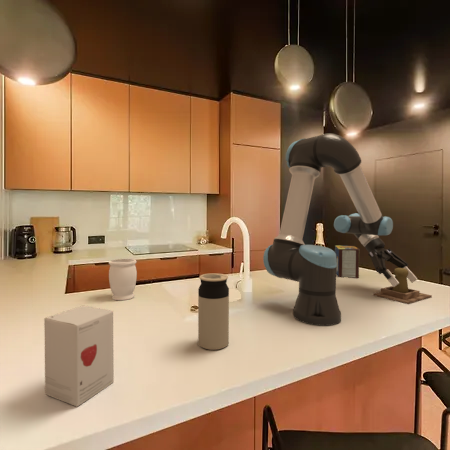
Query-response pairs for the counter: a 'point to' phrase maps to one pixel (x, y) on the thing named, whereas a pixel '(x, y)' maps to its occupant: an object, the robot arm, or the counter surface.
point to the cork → (401, 280)
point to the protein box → (347, 261)
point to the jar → (122, 278)
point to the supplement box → (78, 353)
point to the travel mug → (213, 311)
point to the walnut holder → (402, 295)
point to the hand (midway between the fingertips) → (405, 283)
